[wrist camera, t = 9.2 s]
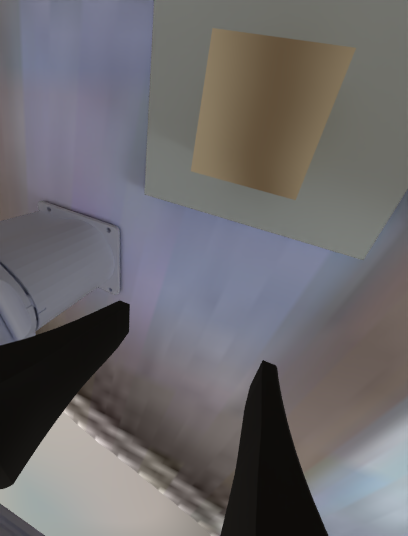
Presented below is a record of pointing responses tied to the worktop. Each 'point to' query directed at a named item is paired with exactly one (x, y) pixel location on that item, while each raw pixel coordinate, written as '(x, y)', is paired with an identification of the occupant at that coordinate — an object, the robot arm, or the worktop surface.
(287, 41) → the maple cube
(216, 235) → the worktop surface
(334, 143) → the gray board
